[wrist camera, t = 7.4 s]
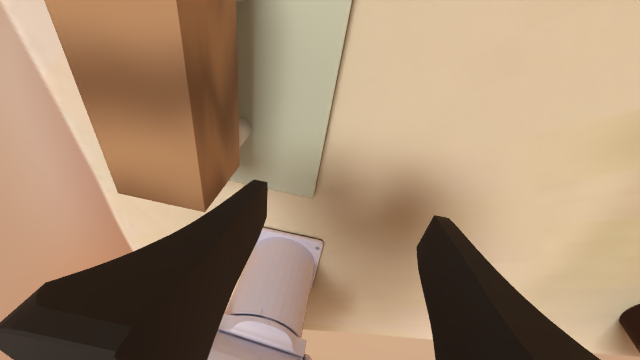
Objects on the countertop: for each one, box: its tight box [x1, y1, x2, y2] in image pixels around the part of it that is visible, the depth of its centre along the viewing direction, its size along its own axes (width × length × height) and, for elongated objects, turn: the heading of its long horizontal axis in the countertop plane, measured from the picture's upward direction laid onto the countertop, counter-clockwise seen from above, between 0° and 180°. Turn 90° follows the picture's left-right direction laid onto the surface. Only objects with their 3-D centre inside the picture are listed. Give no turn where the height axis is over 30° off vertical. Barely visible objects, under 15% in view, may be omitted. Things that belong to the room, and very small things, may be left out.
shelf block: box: [44, 0, 240, 212], centre depth 13 cm, size 12×5×5 cm, turn 170°
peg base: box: [229, 0, 352, 199], centre depth 16 cm, size 20×16×4 cm
